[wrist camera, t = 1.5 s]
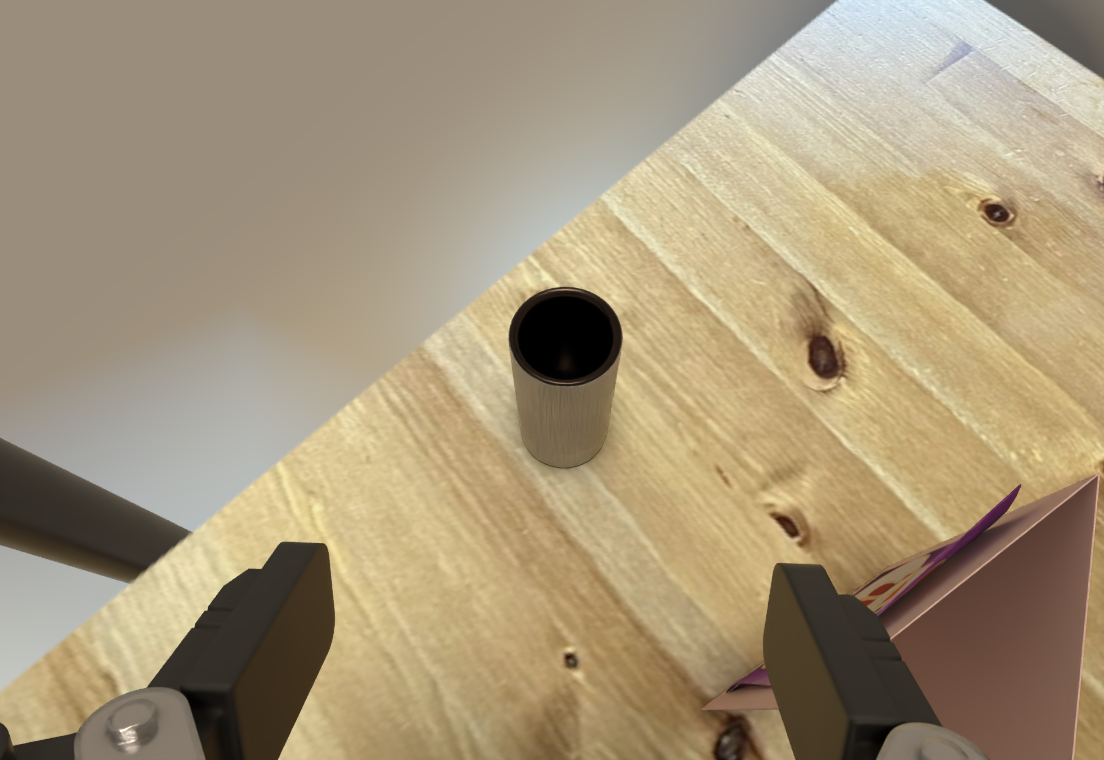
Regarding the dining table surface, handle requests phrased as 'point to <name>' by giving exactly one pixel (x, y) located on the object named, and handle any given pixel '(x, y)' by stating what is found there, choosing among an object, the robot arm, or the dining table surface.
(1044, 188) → the dining table surface
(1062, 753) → the greeting card
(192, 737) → the robot arm
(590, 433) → the planter
